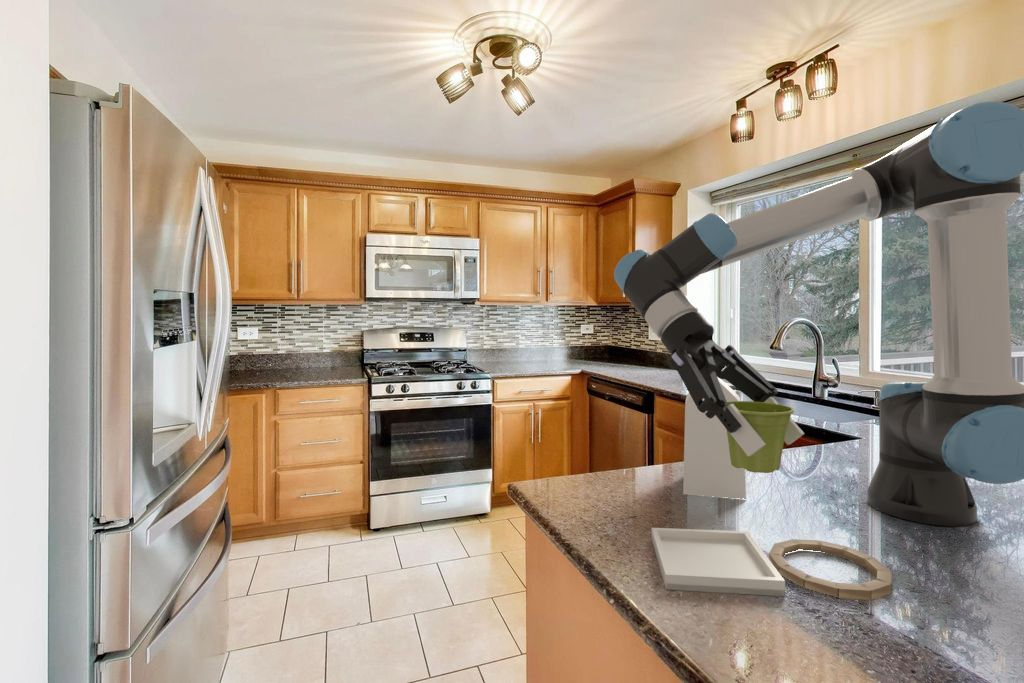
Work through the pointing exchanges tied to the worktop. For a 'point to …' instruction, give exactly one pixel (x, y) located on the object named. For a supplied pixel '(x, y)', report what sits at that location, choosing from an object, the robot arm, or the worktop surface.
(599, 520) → the worktop surface
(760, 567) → the grey tray
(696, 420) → the milk
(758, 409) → the plant pot
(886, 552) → the worktop surface
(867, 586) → the oak ring
